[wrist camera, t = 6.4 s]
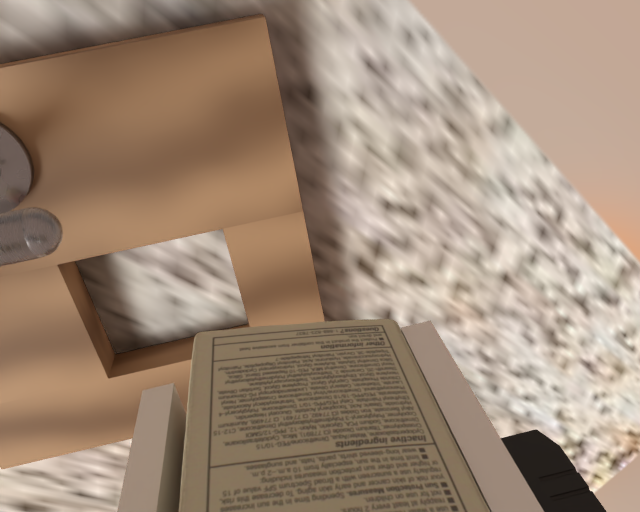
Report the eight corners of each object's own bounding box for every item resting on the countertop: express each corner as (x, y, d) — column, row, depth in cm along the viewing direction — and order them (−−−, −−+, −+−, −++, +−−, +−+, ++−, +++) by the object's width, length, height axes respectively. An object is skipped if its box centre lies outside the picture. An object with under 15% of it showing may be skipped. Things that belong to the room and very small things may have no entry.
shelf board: (-189, 100, 26) (-225, 111, 24) (261, 13, 28) (265, 16, 26) (14, 441, 37) (1, 469, 35) (331, 366, 39) (337, 389, 37)
